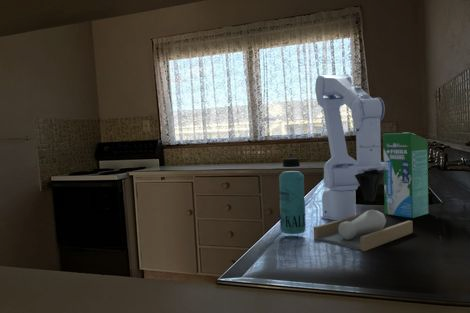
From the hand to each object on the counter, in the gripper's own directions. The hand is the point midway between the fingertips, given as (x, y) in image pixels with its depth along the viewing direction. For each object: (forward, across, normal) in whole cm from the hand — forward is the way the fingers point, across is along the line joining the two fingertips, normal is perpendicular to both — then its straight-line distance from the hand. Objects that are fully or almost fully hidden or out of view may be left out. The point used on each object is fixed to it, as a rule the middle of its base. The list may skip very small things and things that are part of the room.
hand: (369, 200), depth 95 cm
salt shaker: (+5, +2, -2) cm, 5 cm away
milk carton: (+9, +28, +5) cm, 29 cm away
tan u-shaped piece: (+8, -3, 0) cm, 9 cm away
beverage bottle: (+9, -15, +12) cm, 21 cm away
